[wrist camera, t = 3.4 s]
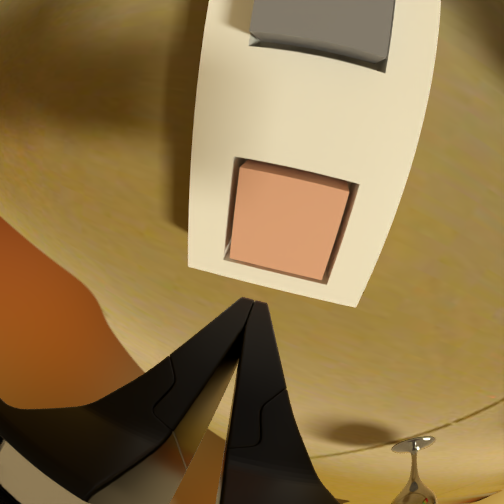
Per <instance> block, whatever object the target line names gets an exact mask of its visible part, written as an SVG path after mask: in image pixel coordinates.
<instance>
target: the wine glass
mask: <svg viewBox="0 0 504 504" xmlns="http://www.w3.org/2000/svg"><path fill="white" fill-rule="evenodd" d="M435 440H436V439H435V438H434V437H418V438H413V439H409V440H406V441H403V442H401V443H398V444H397V445H395V446H394V447H393V448H392V451H393V452H395V453H411V456H412V466H411V474H410V478H409V481H408V483H407V484H406V486H405V487H404V489H403V490H402V491H401V492H400V493H399V494H398V495H397V497H396V498H395V499H394V500H393V501H392V503H391V504H438V500H437V497H436V495H435V493H434V492H433V491H432V490H431V489H429V488H428V487H427V486H426V485H425V484H424V483H423V482H422V481H421V480H420V478H419V475H418V470H417V452H418V451H419V450H422V449H425V448H427V447H429V446H431V445H432V444H433V443H434V442H435Z"/></svg>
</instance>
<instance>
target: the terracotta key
mask: <svg viewBox="0 0 504 504" xmlns="http://www.w3.org/2000/svg"><path fill="white" fill-rule="evenodd" d="M348 195H349V188H348V184H347V181H346V180H342V179H338V178H334V177H330V176H326V175H322V174H318V173H314V172H310V171H305V170H301V169H297V168H292V167H287V166H283V165H278V164H273V163H268V162H263V161H258V160H252V159H248V160H247V161H246V162H245V163H244V164H243V165H242V166H241V167H240V169H239V177H238V186H237V194H236V203H235V211H234V220H233V229H232V238H231V248H230V257H229V258H231V259H235V260H240V261H244V262H248V263H252V264H256V265H260V266H264V267H268V268H272V269H276V270H281V271H285V272H289V273H293V274H297V275H301V276H305V277H310V278H314V279H318V280H322V278H323V275H324V272H325V269H326V266H327V263H328V260H329V257H330V254H331V251H332V248H333V245H334V242H335V239H336V235H337V232H338V229H339V226H340V222H341V219H342V216H343V212H344V209H345V206H346V202H347V199H348Z"/></svg>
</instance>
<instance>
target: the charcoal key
mask: <svg viewBox="0 0 504 504" xmlns="http://www.w3.org/2000/svg"><path fill="white" fill-rule="evenodd" d="M393 4H394V0H254V4H253V10H252V16H251V23H250V29H249V32H251V33H252V34H253V35H255V36H256V37H257V38H258V39H260V40H261V41H262V42H270V43H278V44H286V45H293V46H299V47H305V48H310V49H316V50H321V51H326V52H330V53H335V54H339V55H343V56H347V57H351V58H355V59H359V60H362V61H366V62H369V63H373V64H375V63H377V62H379V61H381V60H383V59H385V58H386V57H387V51H388V44H389V37H390V30H391V22H392V13H393Z"/></svg>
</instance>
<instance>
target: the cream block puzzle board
mask: <svg viewBox="0 0 504 504" xmlns="http://www.w3.org/2000/svg"><path fill="white" fill-rule="evenodd" d="M253 4H254V0H209V4H208V10H207V16H206V22H205V29H204V36H203V43H202V50H201V58H200V66H199V74H198V83H197V92H196V102H195V113H194V125H193V138H192V153H191V170H190V191H189V221H188V267H192V268H196V269H199V270H203V271H207V272H211V273H215V274H218V275H222V276H226V277H230V278H234V279H238V280H242V281H246V282H250V283H253V284H257V285H262V286H266V287H270V288H274V289H278V290H282V291H286V292H290V293H294V294H299V295H303V296H307V297H311V298H316V299H320V300H324V301H329V302H333V303H337V304H342V305H346V306H351V307H355V308H356V306H357V304H358V302H359V300H360V298H361V296H362V293H363V291H364V289H365V287H366V285H367V282H368V280H369V278H370V276H371V273H372V271H373V269H374V267H375V264H376V262H377V260H378V257H379V255H380V252H381V250H382V247H383V245H384V242H385V240H386V237H387V235H388V232H389V230H390V227H391V224H392V222H393V219H394V216H395V213H396V211H397V208H398V205H399V202H400V199H401V196H402V193H403V190H404V187H405V184H406V181H407V178H408V175H409V171H410V168H411V165H412V161H413V158H414V154H415V151H416V147H417V144H418V140H419V136H420V132H421V128H422V124H423V120H424V115H425V111H426V106H427V102H428V97H429V92H430V87H431V81H432V76H433V70H434V63H435V56H436V49H437V41H438V32H439V21H440V6H441V0H394V4H393V13H392V22H391V30H390V37H389V44H388V51H387V57H386V58H385V59H383V60H381V61H379V62H377V63H375V64H373V63H369V62H366V61H362V60H359V59H355V58H351V57H347V56H343V55H339V54H335V53H330V52H326V51H321V50H316V49H310V48H305V47H299V46H293V45H286V44H278V43H270V42H262V41H261V40H260V39H258V38H257V37H256V36H255V35H253V34H252V33H251V32H249V29H250V23H251V16H252V10H253ZM248 159H252V160H258V161H263V162H268V163H273V164H278V165H283V166H287V167H292V168H297V169H301V170H305V171H310V172H314V173H318V174H322V175H326V176H330V177H334V178H338V179H342V180H346V181H347V184H348V188H349V195H348V199H347V202H346V206H345V209H344V212H343V216H342V219H341V222H340V226H339V229H338V232H337V235H336V239H335V242H334V245H333V248H332V251H331V254H330V257H329V260H328V263H327V266H326V269H325V272H324V275H323V278H322V280H318V279H314V278H310V277H305V276H301V275H297V274H293V273H289V272H285V271H281V270H276V269H272V268H268V267H264V266H260V265H256V264H252V263H248V262H244V261H240V260H235V259H231V258H229V257H230V248H231V238H232V229H233V220H234V211H235V203H236V194H237V186H238V177H239V169H240V167H241V166H242V165H243V164H244V163H245V162H246V161H247V160H248Z"/></svg>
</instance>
